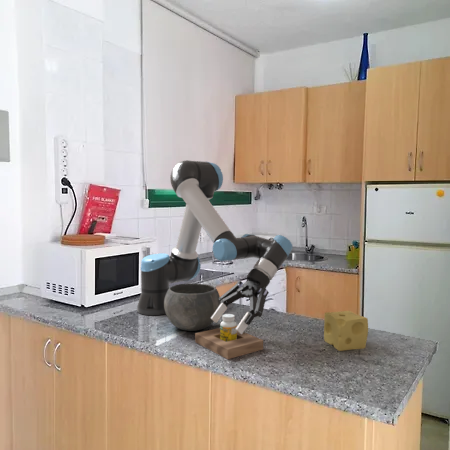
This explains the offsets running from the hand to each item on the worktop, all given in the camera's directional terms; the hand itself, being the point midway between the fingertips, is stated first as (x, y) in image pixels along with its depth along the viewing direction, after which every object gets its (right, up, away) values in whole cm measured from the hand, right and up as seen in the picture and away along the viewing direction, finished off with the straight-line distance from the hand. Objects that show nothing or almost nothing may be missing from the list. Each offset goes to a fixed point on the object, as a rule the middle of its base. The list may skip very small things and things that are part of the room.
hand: (225, 326), depth 135 cm
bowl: (-12, -6, +19) cm, 23 cm away
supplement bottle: (+1, -7, +2) cm, 7 cm away
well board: (+1, -7, +1) cm, 7 cm away
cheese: (+39, -7, +4) cm, 40 cm away
